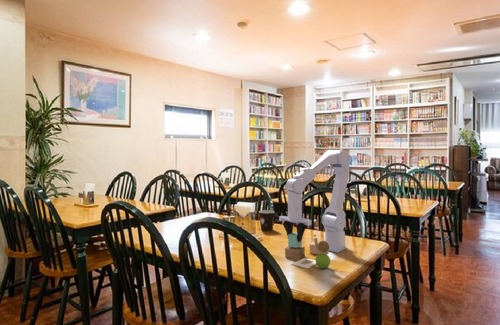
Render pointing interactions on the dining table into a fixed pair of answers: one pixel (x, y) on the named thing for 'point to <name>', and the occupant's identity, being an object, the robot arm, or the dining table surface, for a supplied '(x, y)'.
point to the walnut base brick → (295, 252)
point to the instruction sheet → (305, 263)
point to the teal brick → (293, 240)
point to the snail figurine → (322, 253)
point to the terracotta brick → (313, 248)
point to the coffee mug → (267, 220)
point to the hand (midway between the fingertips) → (294, 240)
